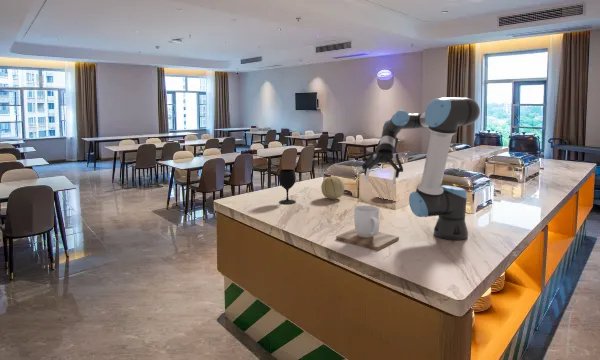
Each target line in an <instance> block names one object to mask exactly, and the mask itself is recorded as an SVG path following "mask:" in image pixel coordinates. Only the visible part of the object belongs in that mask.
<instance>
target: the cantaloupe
mask: <svg viewBox="0 0 600 360" xmlns="http://www.w3.org/2000/svg"><path fill="white" fill-rule="evenodd" d="M320 186H321V194H322V195H323V196H324V197H325V198H326V199H329V200H337V199H339V198H341V197H342V196H343V195H344V193H345V184H344V182H343V180H342V179H341V178H339V177H338V176H331V175H327V177H326V178H325V179H323V181H322V183H321V185H320Z"/></svg>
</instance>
